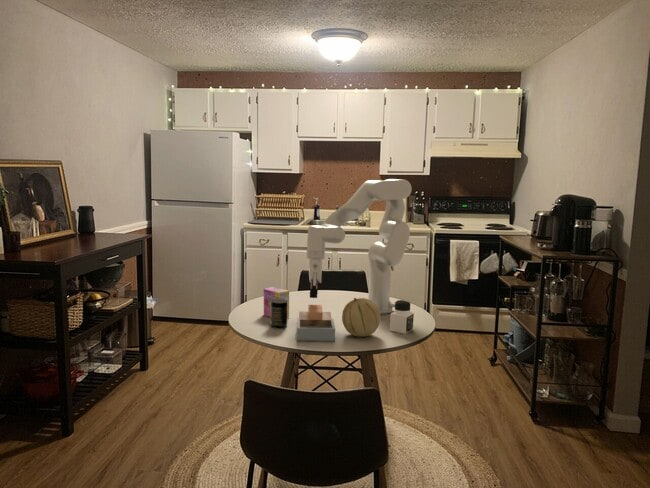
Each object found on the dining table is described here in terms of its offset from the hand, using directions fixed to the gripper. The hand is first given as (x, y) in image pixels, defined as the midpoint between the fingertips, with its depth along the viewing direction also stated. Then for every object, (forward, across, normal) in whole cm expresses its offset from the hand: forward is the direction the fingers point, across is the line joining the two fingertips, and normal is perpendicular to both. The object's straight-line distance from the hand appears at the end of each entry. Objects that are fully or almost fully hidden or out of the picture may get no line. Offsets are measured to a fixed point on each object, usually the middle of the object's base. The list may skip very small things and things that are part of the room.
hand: (313, 297), depth 211 cm
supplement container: (+10, -13, +14) cm, 21 cm away
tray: (+9, -24, -1) cm, 26 cm away
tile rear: (+5, -8, -1) cm, 9 cm away
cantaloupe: (+9, -23, -18) cm, 31 cm away
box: (+10, +1, +16) cm, 18 cm away
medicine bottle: (+8, -16, -35) cm, 40 cm away
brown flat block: (+9, -11, -1) cm, 14 cm away
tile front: (+5, -14, -1) cm, 15 cm away
